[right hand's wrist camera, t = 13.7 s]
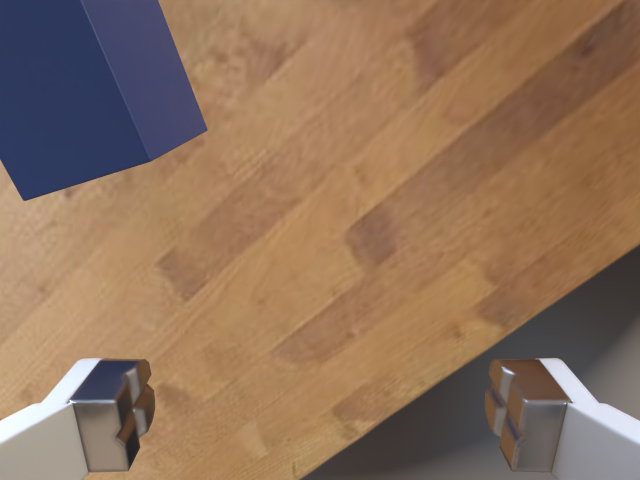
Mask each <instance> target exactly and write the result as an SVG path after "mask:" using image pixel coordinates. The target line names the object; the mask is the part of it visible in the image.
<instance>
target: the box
mask: <svg viewBox="0 0 640 480" xmlns="http://www.w3.org/2000/svg"><path fill="white" fill-rule="evenodd" d="M206 131H207V127H206V124H205V122H204V119H203V117H202V114H201V111H200V109H199V106H198V104H197V101H196V98H195V96H194V93H193V90H192V88H191V85H190V83H189V80H188V77H187V75H186V72H185V70H184V67H183V64H182V62H181V59H180V57H179V54H178V51H177V49H176V46H175V43H174V41H173V38H172V36H171V33H170V30H169V28H168V25H167V23H166V20H165V17H164V15H163V12H162V10H161V7H160V4H159V2H158V0H0V160H1V161H2V163H3V165H4V167H5V169H6V170H7V172H8V174H9V176H10V178H11V179H12V181H13V183H14V185H15V187H16V188H17V190H18V192H19V194H20V196H21V197H22V199H23V200H24V201H26V200H30V199H33V198H36V197H39V196H42V195H46V194H49V193H52V192H55V191H58V190H61V189H65V188H68V187H71V186H74V185H77V184H81V183H84V182H87V181H90V180H93V179H96V178H100V177H103V176H106V175H109V174H112V173H116V172H119V171H122V170H125V169H128V168H131V167H135V166H138V165H141V164H144V163H147V162H150V161H152V160H154V159H156V158H158V157H160V156H162V155H163V154H165V153H167V152H169V151H171V150H173V149H174V148H176V147H178V146H180V145H182V144H184V143H185V142H187V141H189V140H191V139H193V138H195V137H196V136H198V135H200V134H202V133H204V132H206Z"/></svg>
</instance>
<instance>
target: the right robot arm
mask: <svg viewBox="0 0 640 480" xmlns="http://www.w3.org/2000/svg"><path fill="white" fill-rule="evenodd" d="M150 376H151V370H150V365H149V362H148V361H147V360H146V359H102V358H84V359H81V360H78V361H77V362H76V363H75V365H74V366H73V367H72V368H71V369H70V370H69V371H68V373H67V374H66V375H65V376H64V377H63V378H62V380H61V381H60V382H59V383H58V384H57V385H56V387H55V388H54V389H53V390H52V391H51V392H50V394H49V395H48V396H47V397H46V398H45V399H44V400H43V402H42V403H41V404H32V405H30V406H28V407H26V408H24V409H22V410H21V411H19V412H17V413H15V414H13V415H11V416H9V417H7V418H5V419H3V420H1V421H0V480H83V479H84V478H85V477H86V476H88V475H89V473H88V472H120V471H129V469H130V467H131V465H132V463H133V461H134V459H135V457H136V455H137V453H138V451H139V449H140V443H139V438H140V437H141V436H143V435H144V434H145V433H147V432H148V430H149V428H150V426H151V423H152V420H153V416H154V411H155V395H154V390H153V389H152V388H151V387H150V386H149V385H148V384H147V382H148V380H149V378H150ZM489 376H490V378H491V380H492V382H493V384H492V385H491V386H490V387H489V388H488V389H487V390H486V396H485V410H486V417H487V420H488V423H489V426H490V428H491V430H492V432H493V433H495V434H496V435H498V436H499V437H500V438H501V443H500V449H501V451H502V453H503V455H504V457H505V459H506V461H507V463H508V465H509V467H510V469H511V471H519V472H552V473H551V474H552V475H553V476H554V477H555V478H556V479H557V480H640V421H639V420H637V419H635V418H633V417H631V416H629V415H627V414H625V413H623V412H621V411H619V410H617V409H616V408H614V407H612V406H610V405H608V404H599V403H598V402H597V400H596V399H595V398H594V397H593V396H592V395H591V394H590V392H589V391H588V390H587V389H586V388H585V387H584V385H583V384H582V383H581V382H580V381H579V380H578V378H577V377H576V376H575V375H574V374H573V373H572V372H571V370H570V369H569V368H568V367H567V366H566V365H565V363H564V362H563V361H562V360H560V359H558V358H546V359H523V360H493V361H492V363H491V365H490V370H489Z"/></svg>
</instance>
